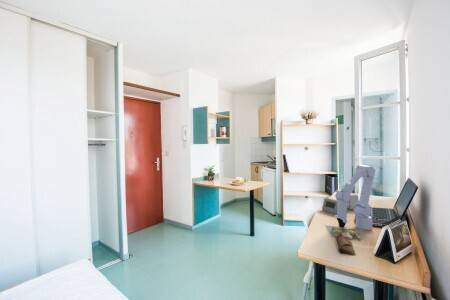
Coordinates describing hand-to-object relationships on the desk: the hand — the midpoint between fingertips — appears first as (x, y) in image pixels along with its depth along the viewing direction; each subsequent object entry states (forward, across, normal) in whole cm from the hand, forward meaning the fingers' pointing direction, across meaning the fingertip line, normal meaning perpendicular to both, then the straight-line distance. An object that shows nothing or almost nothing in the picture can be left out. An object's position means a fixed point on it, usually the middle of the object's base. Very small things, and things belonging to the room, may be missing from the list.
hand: (341, 229), depth 149 cm
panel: (0, +8, 0) cm, 9 cm away
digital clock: (+2, -41, +3) cm, 41 cm away
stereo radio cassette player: (+2, -61, +20) cm, 65 cm away
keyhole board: (+1, +3, 0) cm, 3 cm away
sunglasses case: (+2, +23, -4) cm, 24 cm away
